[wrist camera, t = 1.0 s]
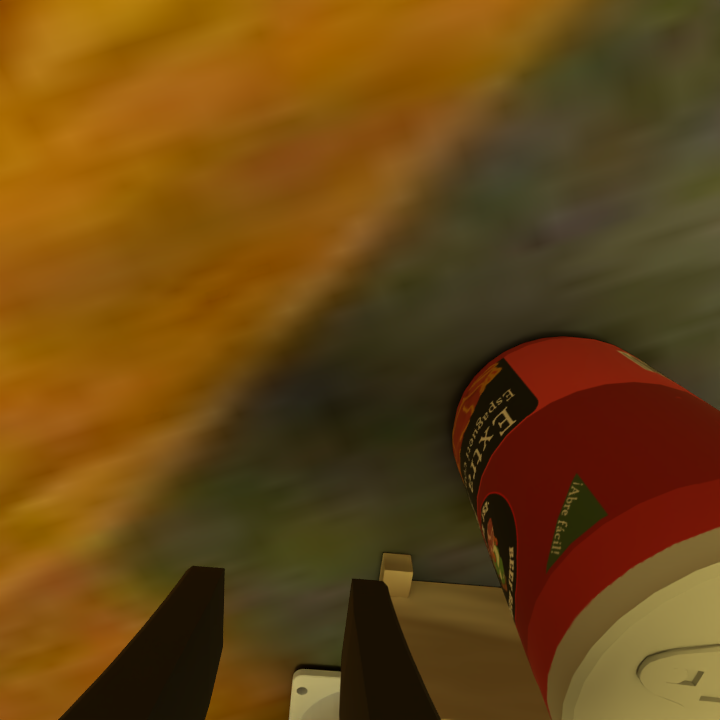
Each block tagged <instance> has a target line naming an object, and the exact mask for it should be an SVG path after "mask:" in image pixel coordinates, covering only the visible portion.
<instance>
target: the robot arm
mask: <svg viewBox="0 0 720 720" xmlns="http://www.w3.org/2000/svg"><path fill="white" fill-rule="evenodd" d="M224 572H225V568H213V567H200V566H192V567H191V568H189V569H188V570H187V571H186V572H185V574H184V575H183V576H182V578H181V579H180V580H179V582H178V583H177V584H176V586H175V587H174V588H173V590H172V591H171V592H170V594H169V595H168V596H167V598H166V599H165V600H164V601H163V603H162V604H161V605H160V606H159V608H158V609H157V610H156V611H155V613H154V614H153V615H152V616H151V617H150V619H149V620H148V621H147V622H146V624H145V625H144V626H143V627H142V628H141V630H140V631H139V632H138V633H137V634H136V635H135V637H134V638H133V639H132V640H131V641H130V642H129V643H128V645H127V646H126V647H125V648H124V649H123V650H122V652H121V653H120V654H119V655H118V656H117V657H116V658H115V660H114V661H113V662H112V663H111V664H110V665H109V666H108V668H107V669H106V670H105V671H104V672H103V673H102V674H101V675H100V676H99V677H98V678H97V679H96V681H95V682H94V683H93V684H92V685H91V686H90V687H89V688H88V689H87V690H86V691H85V692H84V693H83V694H82V695H81V696H80V697H79V699H78V700H77V701H76V702H75V703H74V704H73V705H72V706H71V707H70V708H69V709H68V710H67V711H66V712H65V713H64V714H63V715H62V716H61V717H60V718H59V719H58V720H205V717H206V714H207V711H208V707H209V704H210V700H211V695H212V691H213V687H214V683H215V679H216V674H217V670H218V665H219V661H220V657H221V652H222V648H223V615H224ZM289 720H441V718H440V716H439V714H438V712H437V710H436V708H435V706H434V704H433V702H432V700H431V697H430V695H429V693H428V691H427V689H426V686H425V684H424V682H423V680H422V677H421V675H420V673H419V671H418V668H417V666H416V664H415V662H414V659H413V657H412V654H411V652H410V650H409V647H408V645H407V642H406V639H405V637H404V634H403V632H402V629H401V626H400V624H399V621H398V618H397V615H396V612H395V609H394V606H393V603H392V600H391V597H390V593H389V589H388V586H387V585H386V584H385V583H384V582H383V581H376V580H363V579H352V583H351V591H350V598H349V605H348V613H347V620H346V627H345V634H344V642H343V649H342V659H341V671H327V670H313V669H300V670H297V671H296V672H295V673H294V675H293V681H292V691H291V702H290V713H289Z"/></svg>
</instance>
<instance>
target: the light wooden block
mask: <svg viewBox="0 0 720 720" xmlns="http://www.w3.org/2000/svg"><path fill="white" fill-rule="evenodd" d="M412 576H413V567H412V561H411V555H403V554H391V553H383V558H382V564H381V571H380V577H379V581H383V582H384V583H385V584H386V585H387V586H388V589H389V593H390V597H391V600H392V603H393V606H394V609H395V612H396V615H397V618H398V621H399V624H400V626H401V629H402V632H403V634H404V637H405V639H406V642H407V645H408V647H409V650H410V652H411V654H412V657H413V659H414V662H415V664H416V666H417V668H418V671H419V673H420V675H421V677H422V680H423V682H424V684H425V686H426V689H427V691H428V693H429V695H430V697H431V700H432V702H433V704H434V706H435V708H436V710H437V712H438V714H439V716H440V718H441V720H551V718H550V715H549V713H548V710H547V707H546V705H545V702H544V699H543V697H542V694H541V691H540V688H539V686H538V684H537V682H536V680H535V677H534V675H533V672H532V670H531V667H530V664H529V662H528V659H527V656H526V653H525V651H524V648H523V645H522V642H521V640H520V637H519V634H518V631H517V629H516V626H515V623H514V620H513V618H512V615H511V612H510V609H509V607H508V604H507V601H506V598H505V596H504V593H503V590H502V588H498V587H485V586H473V585H460V584H448V583H435V582H423V581H412Z"/></svg>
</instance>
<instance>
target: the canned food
mask: <svg viewBox="0 0 720 720" xmlns="http://www.w3.org/2000/svg"><path fill="white" fill-rule="evenodd" d="M452 439H453V453H454V456H455V460H456V463H457V467H458V469H459V472H460V475H461V478H462V480H463V483H464V486H465V489H466V491H467V494H468V497H469V500H470V502H471V505H472V508H473V511H474V513H475V516H476V519H477V522H478V524H479V527H480V530H481V533H482V535H483V538H484V541H485V544H486V546H487V549H488V552H489V555H490V557H491V560H492V563H493V565H494V568H495V571H496V574H497V576H498V579H499V582H500V585H501V587H502V590H503V593H504V596H505V598H506V601H507V604H508V607H509V609H510V612H511V615H512V618H513V620H514V623H515V626H516V629H517V631H518V634H519V637H520V640H521V642H522V645H523V648H524V651H525V653H526V656H527V659H528V662H529V664H530V667H531V670H532V672H533V675H534V677H535V680H536V682H537V684H538V686H539V688H540V691H541V694H542V697H543V699H544V702H545V705H546V707H547V710H548V713H549V715H550V718H551V720H720V411H719V410H717V409H716V408H714V407H712V406H711V405H709V404H708V403H706V402H705V401H703V400H702V399H700V398H698V397H697V396H695V395H694V394H692V393H691V392H689V391H688V390H686V389H684V388H683V387H681V386H680V385H678V384H677V383H675V382H674V381H672V380H670V379H669V378H667V377H666V376H664V375H663V374H661V373H660V372H658V371H656V370H655V369H653V368H652V367H650V366H649V365H647V364H646V363H644V362H642V361H641V360H639V359H638V358H636V357H635V356H633V355H631V354H630V353H628V352H626V351H624V350H622V349H620V348H619V347H617V346H615V345H612V344H608V343H605V342H602V341H598V340H595V339H585V338H575V337H565V336H561V337H549V338H541V339H537V340H533V341H530V342H526V343H522V344H520V345H518V346H516V347H514V348H511V349H509V350H507V351H505V352H503V353H502V354H500V355H499V356H497V357H496V358H495V359H493V360H492V361H490V362H489V363H488V364H487V365H486V366H485V367H483V368H482V369H481V370H480V371H479V372H478V373H477V374H476V375H475V376H474V378H473V379H472V381H471V382H470V384H469V385H468V387H467V388H466V389H465V391H464V393H463V395H462V398H461V400H460V402H459V405H458V407H457V412H456V417H455V422H454V427H453V433H452Z"/></svg>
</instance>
